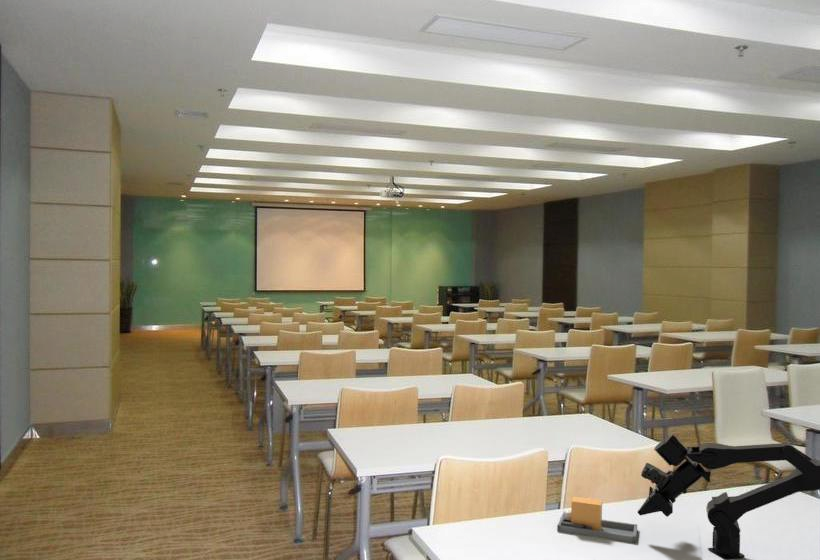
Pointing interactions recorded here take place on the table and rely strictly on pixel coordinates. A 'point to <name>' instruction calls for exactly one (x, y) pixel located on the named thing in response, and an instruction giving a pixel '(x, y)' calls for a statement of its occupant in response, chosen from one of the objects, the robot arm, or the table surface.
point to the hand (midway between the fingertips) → (638, 513)
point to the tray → (608, 530)
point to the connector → (585, 512)
